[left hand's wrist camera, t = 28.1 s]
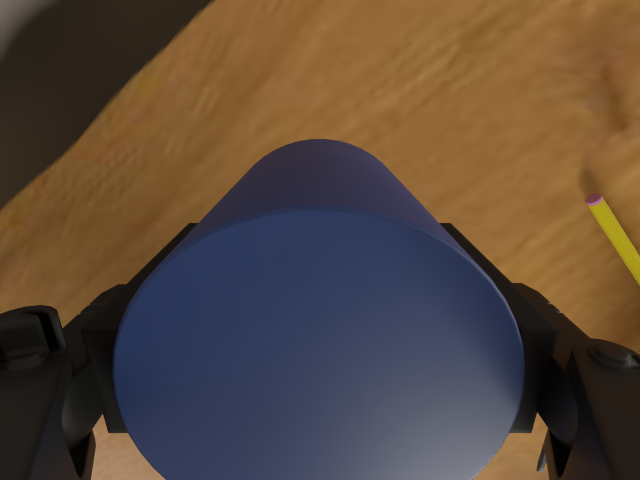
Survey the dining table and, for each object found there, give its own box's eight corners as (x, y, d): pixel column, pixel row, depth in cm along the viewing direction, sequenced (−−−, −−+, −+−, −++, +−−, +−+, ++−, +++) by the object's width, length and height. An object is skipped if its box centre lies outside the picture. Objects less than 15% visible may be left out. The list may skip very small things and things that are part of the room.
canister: (214, 147, 15) (49, 226, 6) (410, 130, 15) (556, 186, 6) (244, 314, 18) (164, 543, 9) (409, 303, 18) (505, 525, 8)
